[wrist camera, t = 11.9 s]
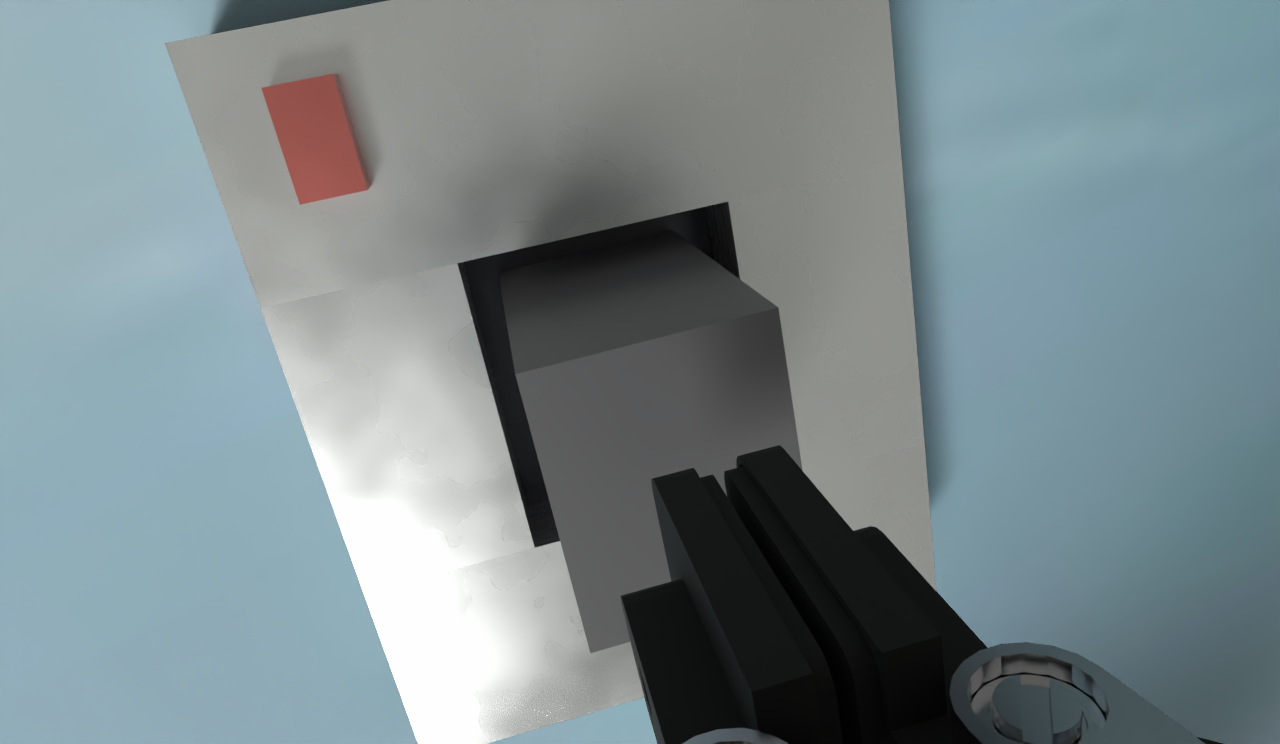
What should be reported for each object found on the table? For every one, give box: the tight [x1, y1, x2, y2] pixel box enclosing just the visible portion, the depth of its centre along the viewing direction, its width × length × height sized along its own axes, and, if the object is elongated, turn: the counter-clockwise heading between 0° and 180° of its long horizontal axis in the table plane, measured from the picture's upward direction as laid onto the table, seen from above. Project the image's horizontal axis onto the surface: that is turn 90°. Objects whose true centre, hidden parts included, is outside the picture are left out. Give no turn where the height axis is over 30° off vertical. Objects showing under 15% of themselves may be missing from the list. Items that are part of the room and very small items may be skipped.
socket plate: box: [165, 0, 937, 744], centre depth 19 cm, size 16×13×3 cm
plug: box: [498, 231, 803, 653], centre depth 17 cm, size 7×4×7 cm, turn 12°
